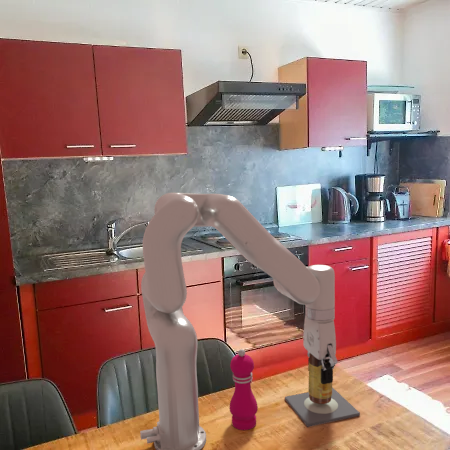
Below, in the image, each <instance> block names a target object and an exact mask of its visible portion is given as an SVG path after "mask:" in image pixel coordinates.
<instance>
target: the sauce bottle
mask: <svg viewBox="0 0 450 450" xmlns="http://www.w3.org/2000/svg"><path fill="white" fill-rule="evenodd" d="M325 357H328V354H326V356H325ZM308 358H309V371H308V392H309V398H310V400H311V401H312V402H314V403H317V404H327V403H329V402H330V401H331V396H332V387H333V382H332V383H327V384H322V383H321V369H322V363H321V360H318V359H317V358H316V357H314V356H313V355H312V354H311V353H309V357H308ZM327 362H329V359H326V360H325V364H326V363H327Z"/></svg>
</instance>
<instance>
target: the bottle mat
mask: <svg viewBox="0 0 450 450" xmlns="http://www.w3.org/2000/svg"><path fill="white" fill-rule="evenodd" d="M284 400H285V401H286V402H287V404H288V405H289V407H291V409H292V410H293V411H294V413H295V414H296V415H297V416H298V417H299V419H301V421H302V422H303V423H304V424H305V426H306V427H307V428H309V427H315V426H319V425H322V424H328V423H333V422H336V421H341V420H345V419H349V418H351V419H352V418H355V417H359V416H361V412H360V411H359V410H357V409H356V407H354V406H353V404H351V403H350V402H349V401H348V400H347V399H346V398H345V397H343V395H341V394H340V392H338V391H337V390H336V389H335V388H334V387H333V386H332V396H331V401H330V402H329V403H327V404H317V403H314V402H312V401H311V400H310V398H309V391H308V392H304V393H303V392H302V393H297V394H292V395H287V396H284Z"/></svg>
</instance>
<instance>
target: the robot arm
mask: <svg viewBox="0 0 450 450" xmlns="http://www.w3.org/2000/svg"><path fill="white" fill-rule="evenodd" d="M153 210H154V214H153V216H152V218H151V219H150V221H149V222H148V223H147V226H146V227H145V230H144V233H143V237H142V255H143V256H142V257H143V263H144V271H145V272H144V274H143V276H142V277H141V285H140V291H141V297H142V303H143V308H144V314H145V320H146V325H147V328H148V332H149V335H150V336H151V339H152V341H153V342H154V347H155V372H156V373H155V376H156V378H155V379H156V389H157V402H158V403H157V404H158V421H157V422H156V424H157V426H153V428H149V429H144V430H140V431H139V432H140V439H141V441H142V440H146V442H147V445H148V444H151V443H153V445H154V449H155V450H202V448H203V447H204V446H205V445H206V443H207V432H206V430H205V429H204V428H203V427H202V426H201V425H200V413H199V412H200V411H199V392H198V389H199V388H198V376H197V357H198V356H197V355H198V336H197V333H196V332H197V331H196V330H195V327H194V325H193V324H192V322H191V321H190V320H189V319H188V318H187V316H186V315H185V314H184V311H183V306H184V305H185V303H186V302H187V295H188V290H187V288H188V287H187V284H186V279H185V273H184V272H185V271H184V267H183V261H182V260H183V259H182V251H181V250H182V242H183V239H184V237H185V236H186V234H188V232H189V231H190V230H191V229H193V228H194V227H213V228H215V229H216V230H217V231H218V232H219V233H220V235H222V236H223V237H224V238H225V239H226V240H227V241H228V242H229V243H230V244H231V245H232V247H234V249H236V250H237V252H238V253H239V254H241V256H243V257H244V259H246V260H247V261H248V262H249V263H250V264H252V265H253V266H255V267H256V268H258V269H260V270H261V271H263V272H264V273H265V274H267V275H268V276H269V277H271V278H272V280H273V286H274V287H275V289H276V290H277V291H278V292H279V293H280V294H282V295H283V296H285V297H287V298H288V299H291V300H292V301H294V302H296V303H297V304H299V305H305V315H304V324H303V341H302V342H303V347H304V349H305V350H306V351H307V357H308V358H307V360H308V361H307V362H308V365H307V366H308V367H307V368H308V372H309V353H311V354H312V355H313V356H314V357H316V358H317V359H318V360H321V363H322V369H321V383H322V384H327V383H332V384H333V382H334V379H333V378H334V369H335V366H336V365H337V364H338V359H337V356H336V355H337V340H336V339H337V337H336V328H335V327H336V326H335V321H334V320H335V318H336V317H335V312H336V311H335V308H336V306H335V305H336V304H335V303H336V298H335V295H336V294H335V288H336V287H335V283H336V282H335V281H336V278H335V277H336V275H335V270H334V268H333V267H331V266H329V265H325V264H313V265H309V266H306V265H305V264H304V263H303V262H302V261H301V260H300V259H299V258H298V257H297V256H296V255H294V253H292V252H291V251H290V250H289V249H288V248H287V247H286V246H284V245H283V244H282V243H281V242H280V241H279V240H278V239H277V238H276V237H275V236H273V235H272V234H271V233H270V232H269V230H268V229H267V228H265V227H264V225H262V224H261V223H260V221H259V220H258V219H257V218H256V217H255V216H254V215H253V214H252V213H251V212H250V211H249V210H248V209H247V208H246V207H245V206H244V204H242V202H241V201H240V200H239V199H237V198H236V197H234V196H231V195H228V194H222V193H194V192H193V193H192V192H190V193H189V192H166V193H165V194H163V195H161V196H159V198H157V200H156V202H155V205H154V209H153ZM326 354H328V357H325V356H326ZM326 359H329V362H327V363H326V364H325V360H326Z"/></svg>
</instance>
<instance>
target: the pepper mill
mask: <svg viewBox="0 0 450 450" xmlns="http://www.w3.org/2000/svg"><path fill="white" fill-rule="evenodd" d="M229 367H230V371H231V372H232V380H233V382H234V391H233V394H232V397H230V403H229V412H230V414H231V424H232V426H233V427H234V429H237V430H240V431H248V430H251V429H253V428H254V427H256V425H257V415H256V414H257V413H258V411H259V410H258V407H259V406H258V402H257V398H256V397H255V395H254V392H253V390H252V387H251V386H252V384H251V382H252V380H253V371H254V369H255V362H254V359H253V358H252V357H251V356H250V355H248V354H246V351H245V349H243V348H241V349H239V350H238V352H237V354H236V355H234V356H233V357H232V358H231V361H230V365H229Z"/></svg>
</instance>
